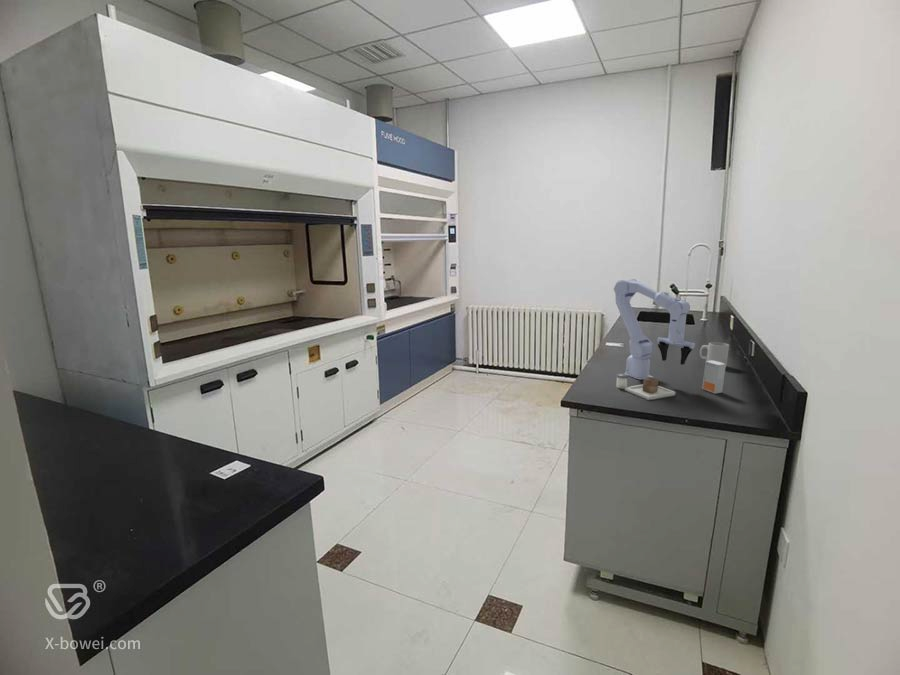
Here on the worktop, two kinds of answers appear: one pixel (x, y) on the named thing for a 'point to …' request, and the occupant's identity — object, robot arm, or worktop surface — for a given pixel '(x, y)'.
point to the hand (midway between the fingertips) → (673, 362)
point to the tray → (648, 396)
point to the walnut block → (650, 385)
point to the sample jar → (621, 381)
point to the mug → (716, 352)
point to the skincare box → (713, 376)
